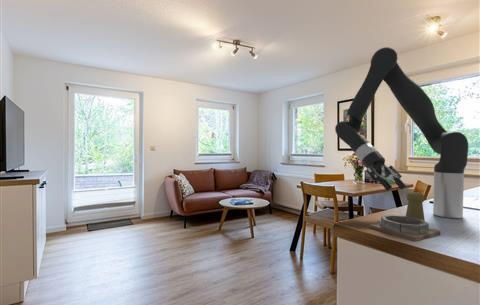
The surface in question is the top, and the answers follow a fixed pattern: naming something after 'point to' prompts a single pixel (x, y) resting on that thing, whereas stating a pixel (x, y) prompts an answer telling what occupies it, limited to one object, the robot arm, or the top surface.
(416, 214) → the cork
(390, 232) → the socket base
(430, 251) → the top surface
